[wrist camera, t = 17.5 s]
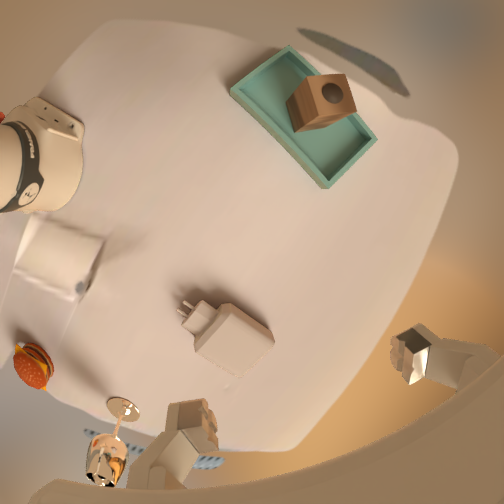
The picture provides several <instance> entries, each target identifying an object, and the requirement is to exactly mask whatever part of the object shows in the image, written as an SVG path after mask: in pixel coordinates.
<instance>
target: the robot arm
mask: <svg viewBox="0 0 504 504" xmlns="http://www.w3.org/2000/svg"><path fill="white" fill-rule="evenodd" d="M4 118H5V115H4V114H3V113H2V112H0V123H1V122H2V121H3V120H4V121H3V122H2V124H0V214H1V213H5V212H10V211H22V212H23V213H25V214H26V213H32V212H34V211H36V210H39V211H46V212H49V211H55V210H57V209H59V208H61V207H62V206H64V205H65V204H66V203H67V202H68V201H69V200H70V199H71V197H72V196H73V194H74V193H75V191H76V189H77V187H78V184H79V182H80V178H81V174H82V167H83V155H82V147H81V143H82V139H83V134H84V125H83V124H82V123H81V122H79V121H78V120H76V119H75V118H73V117H71V116H70V115H68V114H66V113H65V112H63V111H61V110H60V109H58V108H56V107H55V106H53V105H51V104H50V103H48V102H46V101H45V100H43V99H41V98H39V97H34V98H32V99H31V100H29V101H28V102H27V103H26V104H25V105H24V106H22V105H20V106H17V107H15V108H14V109H13V110H12V111H11V112H10V113H9V114H8V115H7V117H6V118H5V119H4ZM73 125H74V127H73V128H72V126H73ZM391 345H392V346H393V348H392V350H391V352H390V358H391V362H392V364H393V366H394V368H395V369H396V370H398V371H401V372H402V377H403V378H404V379H405V380H406V381H407V382H408V384H409V385H410V384H412V383H414V382H416V381H418V380H420V379H422V378H423V377H425V378H427V379H430V380H433V381H436V382H439V383H441V384H444V385H447V386H449V387H452V388H455V389H457V390H456V393H455V395H454V396H452V397H451V398H449V399H448V400H446V401H445V402H443V403H442V404H441V405H439V406H437V407H436V408H435V409H433V410H431V411H430V412H428V413H426V414H425V415H423V416H421V417H420V418H418V419H416V420H415V421H413V422H411V423H409V424H408V425H406V426H404V427H402V428H400V429H399V430H397V431H395V432H393V433H391V434H389V435H387V436H385V437H383V438H381V439H379V440H377V441H374V442H372V443H370V444H368V445H366V446H363V447H361V448H359V449H357V450H354V451H352V452H349V453H347V454H344V455H342V456H339V457H336V458H334V459H331V460H328V461H325V462H322V463H320V464H316V465H313V466H310V467H307V468H303V469H301V470H297V471H293V472H290V473H285V474H282V475H277V476H274V477H269V478H264V479H260V480H255V481H250V482H244V483H238V484H231V485H224V486H216V487H207V488H197V489H196V488H195V489H187V488H186V487H185V486H184V485H183V484H182V482H183V481H184V479H185V477H186V476H187V474H188V473H189V471H190V469H191V468H192V466H193V465H194V463H195V461H196V460H197V458H198V456H199V454H200V453H206V452H211V451H218V450H219V448H218V438H217V436H216V434H215V433H216V432H217V422H216V418H215V416H214V413H213V412H212V410H210V409H208V403H207V401H206V399H204V398H202V399H195V400H189V401H182V402H177V403H170V404H169V406H168V412H167V419H166V426H165V432H161V433H160V434H159V436H158V437H157V438H156V439H155V440H154V441H153V442H152V443H151V444H150V445H149V446H148V448H147V449H146V450H145V451H144V452H143V453H142V454H141V455H140V456H139V457H138V459H137V460H135V461H134V463H133V464H132V465H131V466H130V469H129V474H128V481H127V486H126V489H125V488H114V487H104V486H97V485H90V484H84V483H78V482H73V481H68V480H63V479H54V480H53V481H51V482H50V483H48V484H46V485H45V486H44V487H42V488H41V489H40V490H38V491H37V492H36V493H35V494H34V495H33V496H32V497H31V499H30V501H29V503H28V504H504V355H503V356H502V357H501V356H499V354H497V353H496V352H495V351H493V350H492V349H491V348H489V347H488V346H487V345H485V344H478V343H471V342H465V341H458V340H451V339H446V338H443V339H440V338H439V337H438V336H436V335H435V334H434V333H433V332H431V331H430V330H429V329H427V328H426V327H425V326H424V325H422V324H420V323H418V324H416V325H414V326H413V327H411V328H409V329H407V330H405V331H403V332H401V333H399V334H397V335H395V336H393V337H392V338H391Z"/></svg>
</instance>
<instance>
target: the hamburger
mask: <svg viewBox="0 0 504 504" xmlns="http://www.w3.org/2000/svg"><path fill="white" fill-rule="evenodd" d="M13 359H14V368H15V370H16V371H17V373H18V375H19V377H20V378H21V379H22V380H23V381H24V382H25V383H26V384H27V385H29V386H31V387H34V388H36V389H43V390H45V391H46V385H47V382H48V380H49V378H50V377H51V376H52V375H53V372H54V367H53V363H52V361H51V359H50V357H49V356H48V355H47V353H46V352H45V351H44V350H43V349H42V348H41V347H39V346H38V345H36V344H34V343H27V344H26V345H25V346H24V347H23V348H21V347H20V346H19V345H17V344H16V347H15V355H14V357H13Z"/></svg>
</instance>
